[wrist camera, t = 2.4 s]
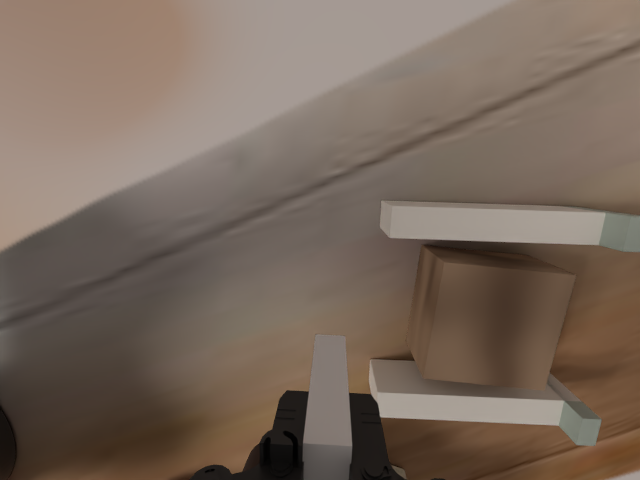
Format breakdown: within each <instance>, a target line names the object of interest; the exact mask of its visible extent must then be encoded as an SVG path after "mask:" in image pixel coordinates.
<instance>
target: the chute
mask: <svg viewBox="0 0 640 480" xmlns="http://www.w3.org/2000/svg"><path fill="white" fill-rule="evenodd" d="M380 228H381V229H382V230H383V231H384V232H385V234H386V235H387V236H388V237H389V238H404V239H433V240H462V241H491V242H521V243H550V244H579V245H600V246H604V247H607V248H611V249H615V250H619V251H622V252H640V215H634V214H627V213H620V212H612V211H605V210H597V209H590V208H583V207H575V206H544V205H512V204H481V203H449V202H418V201H386V200H381V213H380ZM369 384H370V390H371V395H372V396H373V398H374V399H375V400H376V402H377V403H378V407H379V413H380V417H386V418H407V419H429V420H450V421H472V422H493V423H514V424H536V425H557V426H560V428H561V429H562V430H563V431H564V432H565V433H566V434H567V435H568V436H569V437H570V439H571V440H572V441H573V442H574V443H575V444H576V445H588V446H595V444H596V440H597V436H598V432H599V428H600V425H601V421H602V419H601V418H600V417H598V416H597V415H596V414H595V413H594V412H593V411H592V410H591V409H590V408H588V407H587V406H586V405H585V404H584V403H583V402H582V401H581V400H580V399H579V398H577V397H576V396H575V395H574V394H573V393H572V392H571V391H570V390H569V389H567V388H566V387H565V386H564V385H563V384H562V383H561V382H560V381H559V380H557V379H556V378H555V377H554V376H553V375H552V374H551V373H549V376H548V380H547V384H546V387H545V391H541V390H531V389H522V388H512V387H502V386H492V385H482V384H472V383H462V382H452V381H442V380H432V379H423V377H422V375H421V373H420V371H419V369H418V366H417V364H416V362H415V361H404V360H381V359H370V370H369Z"/></svg>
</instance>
